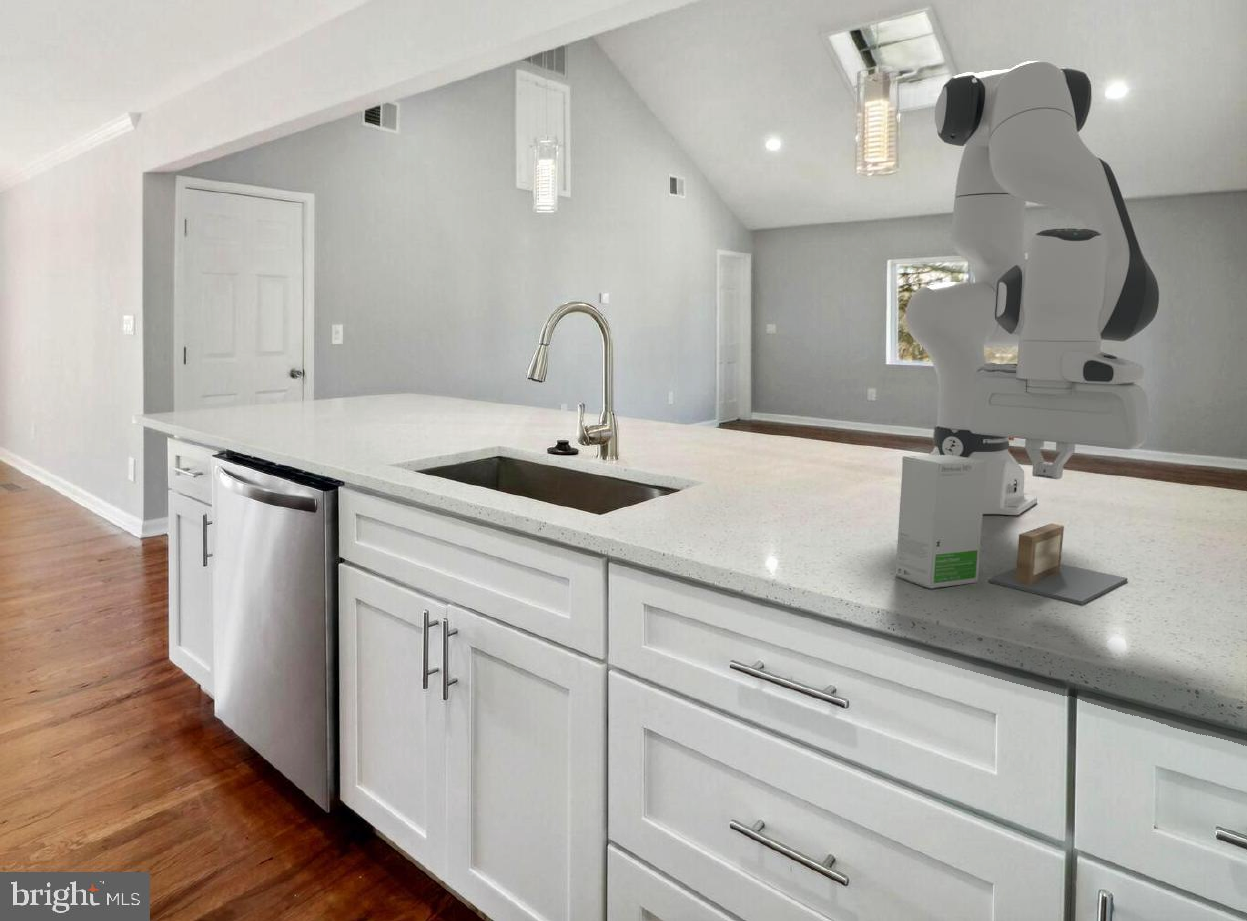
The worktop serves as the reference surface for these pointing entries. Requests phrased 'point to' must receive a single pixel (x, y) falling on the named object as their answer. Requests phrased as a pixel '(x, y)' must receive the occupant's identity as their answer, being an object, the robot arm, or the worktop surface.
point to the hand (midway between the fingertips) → (1046, 477)
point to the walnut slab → (1039, 553)
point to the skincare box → (940, 520)
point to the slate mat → (1065, 583)
